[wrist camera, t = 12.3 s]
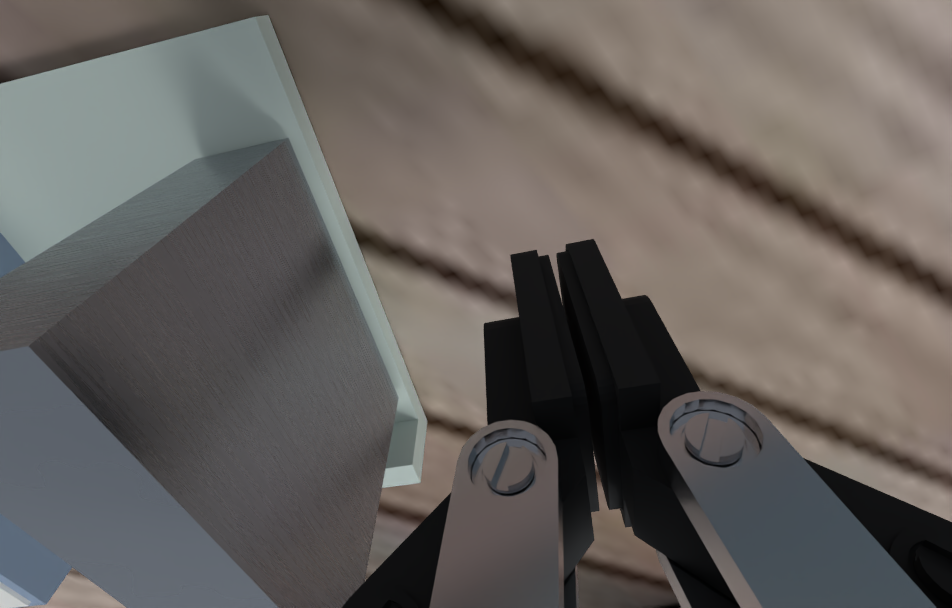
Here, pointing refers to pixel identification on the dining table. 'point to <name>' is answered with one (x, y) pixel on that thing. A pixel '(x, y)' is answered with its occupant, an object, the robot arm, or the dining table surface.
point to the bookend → (197, 395)
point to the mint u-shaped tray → (176, 158)
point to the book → (9, 547)
